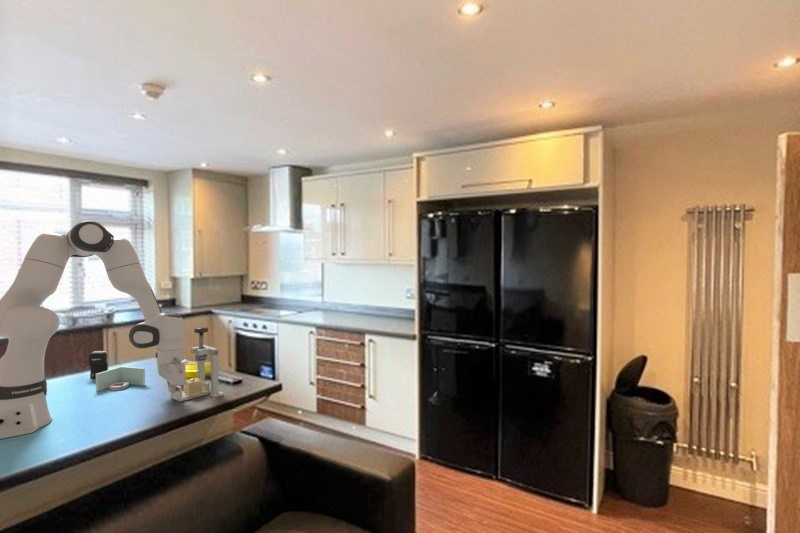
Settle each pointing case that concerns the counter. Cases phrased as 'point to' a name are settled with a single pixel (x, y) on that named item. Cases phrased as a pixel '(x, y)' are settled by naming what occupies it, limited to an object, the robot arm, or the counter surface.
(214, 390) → the press frame
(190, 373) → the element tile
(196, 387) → the tan wooden cube
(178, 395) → the bed
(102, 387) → the l-shaped corner panel
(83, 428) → the counter surface
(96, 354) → the black backpack
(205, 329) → the ram
